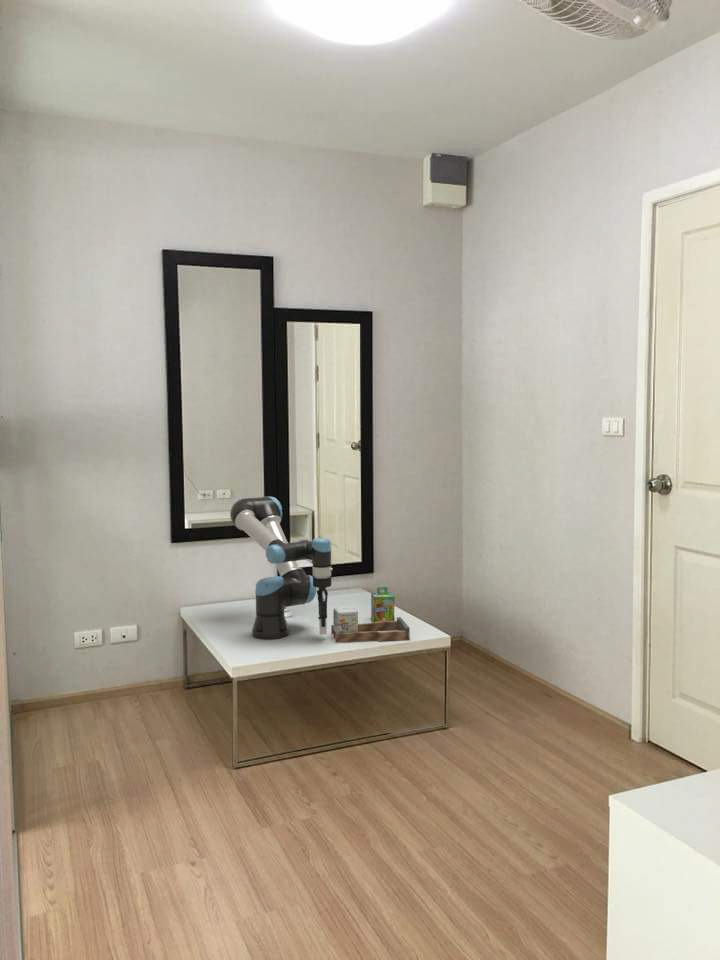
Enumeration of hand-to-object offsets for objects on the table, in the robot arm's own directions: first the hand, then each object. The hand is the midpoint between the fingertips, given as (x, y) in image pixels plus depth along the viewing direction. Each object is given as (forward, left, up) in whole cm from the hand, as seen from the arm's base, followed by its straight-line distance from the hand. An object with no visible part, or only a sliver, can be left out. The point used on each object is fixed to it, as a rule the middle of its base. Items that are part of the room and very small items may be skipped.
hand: (323, 633), depth 331 cm
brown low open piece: (+19, 0, -2) cm, 19 cm away
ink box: (+9, 0, -2) cm, 10 cm away
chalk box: (+29, +24, -2) cm, 38 cm away
